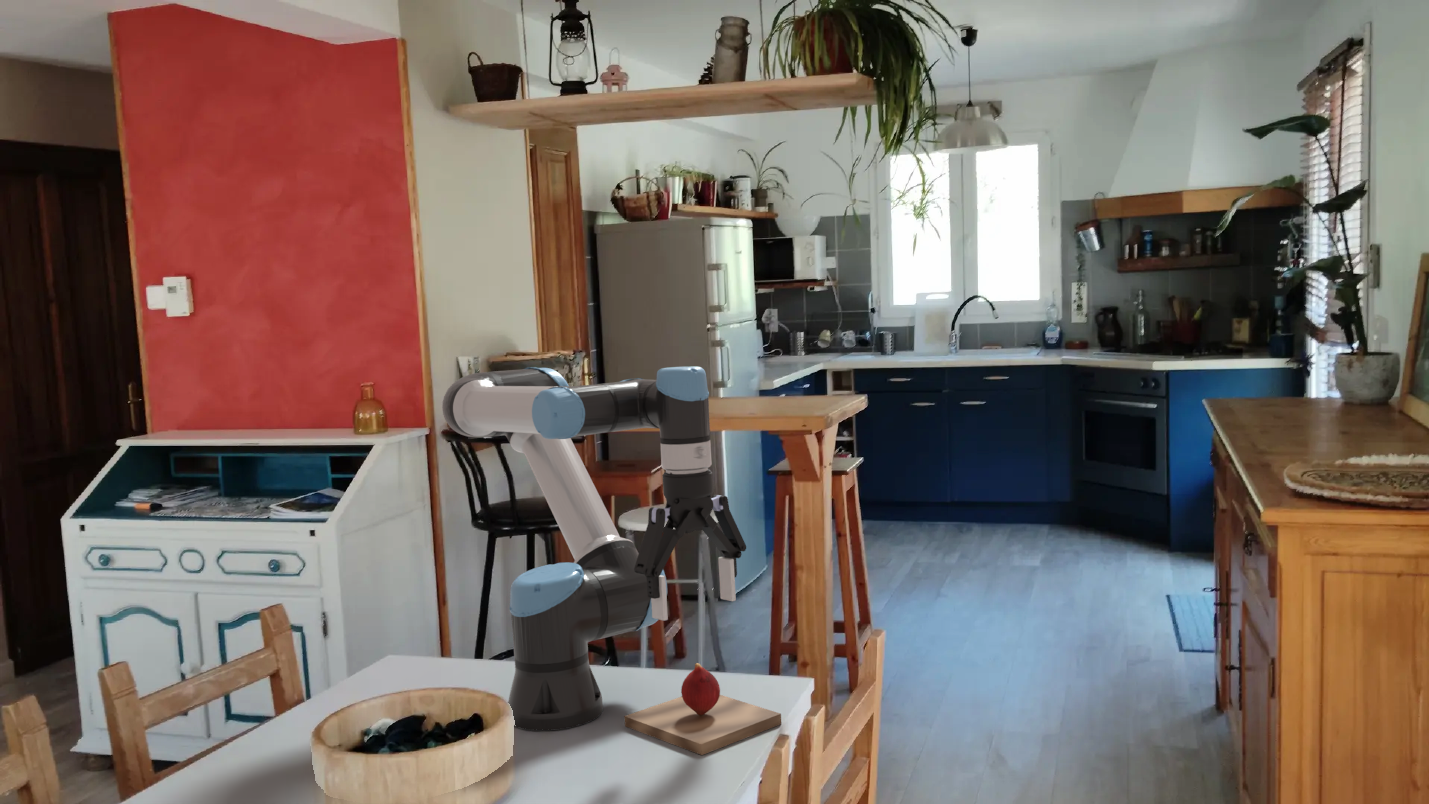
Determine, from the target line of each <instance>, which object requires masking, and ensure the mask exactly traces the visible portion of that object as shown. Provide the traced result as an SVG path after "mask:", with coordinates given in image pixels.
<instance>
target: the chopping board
mask: <svg viewBox="0 0 1429 804" xmlns="http://www.w3.org/2000/svg"><path fill="white" fill-rule="evenodd" d="M623 719H624V727H626V728H629V729H632V730H634V731H636V732H639V733H641V734H644V735H647V736H650V737H652V738H654V739H656V740H657V739H658V740H659V741H660V740H661V741H663V742H666V743H668V744H671V745H674V746H677V747H678V748H682V749H683V750H684V749H685V750H687V751H689V752H692V753H695V754H697V755H700V756H703V755H705V754H708V753H712V752H714V751H716V750H719V749H721V748H723V747H724V748H725V747H726V746H729V745H732V744H733V743H734V744H735V743H737V742H739V741H742V740H744V739H746V738H749V737H752V736H754V735H757V734H759V733H760V734H761V733H762V732H765V731H767V730H769V729H772V728H775V727H777V726H780V725H782V713H780V712H776V711H774V710H770V709H768V708H764V707H760V706H757V705H755V704H752V703H748V702H745V701H741V700H740V699H739V700H738V699H735V698H732V697H729V696H725V695H724V694H723V695H722V694H720V697H719V699H718V701H717V703H716V704H715V706H714V707H713V708H712V709H710V710H709V711H708V712H706V713H705V714H704V715H698V714H697V713H696V712H695V711H693V710H692V709H691V708H690V707H689V706H687V705H686V703H685V702H684V700H683V698H682V696H679V697H676V698H673V699H670V700H667V701H665V702H662V703H658V704H656V705H653V706H650V707H646V708H644V709H641V710H638V711H636V712H632V713H629V714H626V715H624V718H623Z"/></svg>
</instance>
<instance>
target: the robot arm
mask: <svg viewBox="0 0 1429 804" xmlns="http://www.w3.org/2000/svg"><path fill="white" fill-rule="evenodd" d="M709 396H710V392H709V389H708V379H707V374H706V371H705V369H704V368H703V367H701V366H699V365H698V366H696V365H695V366H685V365H684V366H671V367H662V368H660V369H658V370H657V372H656V379H644V378H641V377H640V378H639V377H637V378H628V379H623V380H620V381H616V382H606V383H605V382H604V383H597V384H585V385H569V384H568V381H567V380H566V379H565V378H564V377H563V375H561V373H559V372H558V371H557V370H555V369H552V368H550V367H549V368H548V367H536V366H531V367H525V368H523V369H510V370H509V369H508V370H498V371H497V370H496V371H495V370H494V371H484V372H481V371H480V372H474V373H470V374H467V375H465V376H463V377H461V378H459V379H457V380H455V381H454V382H453V383H452V384H451V385H450V386H449V387H448V389H447V390H446V392H445V394H444V396H443V399H442V402H441V403H442V404H441V405H442V406H441V408H442V415H443V417H444V421H445V422H446V423H447V425H448V426H449V427H450V429H452V430H453V431H454V432H456V433H457V434H460V435H462V436H465V437H469V438H492V437H500V436H501V437H502V436H505V437H506V438H507V441H508V442H509V445H510V446H511V448H512V450H513V451H515V452H517V453H520V454H524V455H525V458H526V460H527V463H528V464H529V466H530V469H531V471H532V473H533V475H534V478H535V479H536V481H537V484H538V485H539V487H540V490H541V491H542V493H543V497H544V498H545V501H546V502H547V504H548V507H549V509H550V511H551V513H552V515H553V517H554V519H555V521H556V523H557V526H558V528H559V530H560V532H561V534H562V536H563V539H564V540H565V543H566V545H567V547H568V549H569V550H570V553H571V555H572V557H573V559H574V561H573V562H568V561H567V562H566V561H565V562H557V563H554V564H551V563H550V564H546V565H545V564H544V565H541V566H537V567H534V568H532V569H529V570H527V571H525V572H523V573H521V574H519V575H518V576H517V577H515V579H514V581H512V583H511V586H510V589H509V590H510V592H509V593H510V595H509V596H510V597H509V599H510V600H509V612H510V617H511V630H512V631H511V632H512V643H513V644H512V645H513V656H514V668H515V670H514V676H513V680H512V684H511V688H510V692H509V696H508V701H507V703H509V704H510V706H511V708H512V710H513V716H514V720H515V725H516V727H515V728H518V729H521V730H526V731H527V730H528V731H536V732H538V731H540V732H541V731H542V732H543V731H558V730H559V731H560V730H564V729H571V728H575V727H579V726H582V725H584V724H587V723H589V722H592V721H593V720H596V719H597V718H598V717H600V716H601V715H602V714H603V712H604V703H603V696H602V692H601V689H600V688H599V685H598V682H597V680H596V678H595V675H594V673H593V670H592V667H591V666H590V660H589V647H588V646H589V645H588V644H589V642H592V641H593V642H594V641H597V640H601V639H605V638H610V637H613V636H617V635H621V634H625V633H630V632H637V631H640V630H641V629H643V628H646V627H649V626H652V625H654V624H656V623H657V622H658V621H659V620H660V621H668V620H669V618H668V601H667V600H668V599H667V596H668V582H667V577H666V574H665V573H666V572H665V570H664V568H665V566H666V564H667V563H668V561H669V559H670V556H671V555H672V553H673V551H674V549H675V547H676V545H677V543H678V542H679V540H680V539H682V538H683V536H684V535H685V534H691V533H693V532H694V531H698V532H699V531H702V532H703V533H704V534H705V535H706V536H707V538H708V539H709V540H710V541H711V542H712V544H713V545H714V546H715V547H716V549H717V550H718V551H719V552H720V553H721V555H722V556H719V557H718V558H717V559H718V560H717V561H718V573H719V574H718V575H719V576H718V577H719V578H718V580H719V591H720V592H719V594H720V599H721V600H724V601H730V602H735V601H737V600H736V599H737V598H736V595H737V594H736V580H735V579H736V578H737V575H738V568H737V567H738V566H737V559H740V558H741V557H742V552H745V551H746V550H747V545H746V542H745V540H744V538H743V536H742V534H741V532H740V529H739V528H738V525H737V522H736V521H735V519H734V515H732V513H731V510H730V505H729V499H728V497H727V496H726V495H719V494H713V493H714V480H713V479H714V478H713V471H712V470H711V469H709V468H710V467H711V466H712V464H713V462H712V445H711V428H710V427H711V425H710V424H711V423H710V406H709V405H710V403H709V402H710V400H709ZM638 429H659V435H660V436H659V437H660V438H659V439H660V440H659V441H660V460H661V461H660V462H661V468H662V469H663V470H665V471H664V472H663V473H662V491H663V492H662V493H663V495H664V497H665V500H666V503H665V507H664V508H663V507H660V508H659V507H654V506H653V507H650V508H649V509H648V520H647V521H648V522H647V525H646V529H645V533H644V535H643V539H642V542H641V545H640V547H639V548H640V549H639V552H638V550H637V548H636V546H635V544H634V542H633V541H632V540H631V539H628V538H624V537H622V536H620V534H619V532H618V530H617V528H616V526H615V524H614V522H613V520H612V517H611V516H610V514H609V512H608V510H607V508H606V506H605V504H604V502H603V500H602V498H601V496H600V494H599V492H598V490H597V488H596V486H595V484H594V483H593V480H592V478H591V476H590V474H589V472H588V470H587V468H586V466H585V465H584V462H583V460H582V458H581V456H580V454H579V452H578V451H577V450H578V449H576V446H575V444H574V442H573V440H572V438H576V437H584V436H590V435H596V434H597V435H598V434H606V433H614V432H615V433H616V432H622V431H629V430H638ZM712 494H713V495H712ZM712 512H713V514H714V515H715V518H716V520H715V519H714V517H712V515H711V513H712ZM718 525H719V526H720V528H721V529H720V528H719V526H718Z"/></svg>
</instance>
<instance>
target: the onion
mask: <svg viewBox="0 0 1429 804" xmlns="http://www.w3.org/2000/svg"><path fill="white" fill-rule="evenodd" d="M680 690H681V692H680V693H681V697H682V698H683V700H684V702H685V703H686V705H687V706H689V707H690V708H691V709H692V710H693V711H695V712H696V713H697V714H698V715H704V714H705V713H706V712H708V711H709V710H710V709H712V708H713V707H714V706H715V704H716V703H717V701H718V699H719V697H720V695H721V687H720V683H719V681H718V680H717V678H716V677H715V676H714V675H713V673H711V671H709V670H707V669H706V668H705V667H703V666H702V665H701V663H698V662H696V663H694V669H693V670H692V671H691V672H689V673H688V674H687V676H686V677H685V678H684V680H683V681H682V684H681V689H680Z"/></svg>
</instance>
